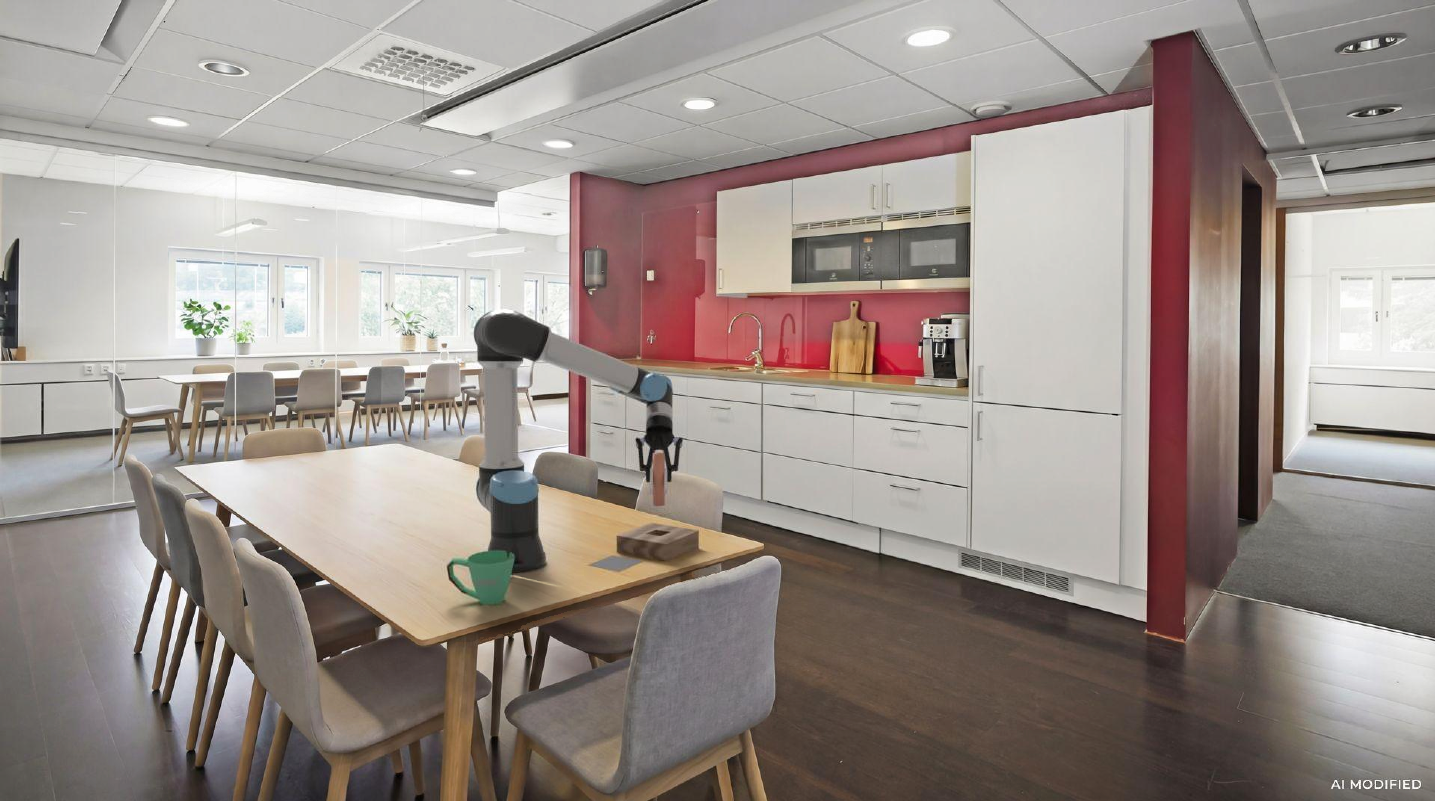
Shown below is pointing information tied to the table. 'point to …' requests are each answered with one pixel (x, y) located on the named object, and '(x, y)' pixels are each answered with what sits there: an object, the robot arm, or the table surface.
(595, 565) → the mat
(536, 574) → the table surface
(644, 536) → the hole block
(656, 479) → the peg
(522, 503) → the robot arm
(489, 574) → the mug
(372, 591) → the table surface
